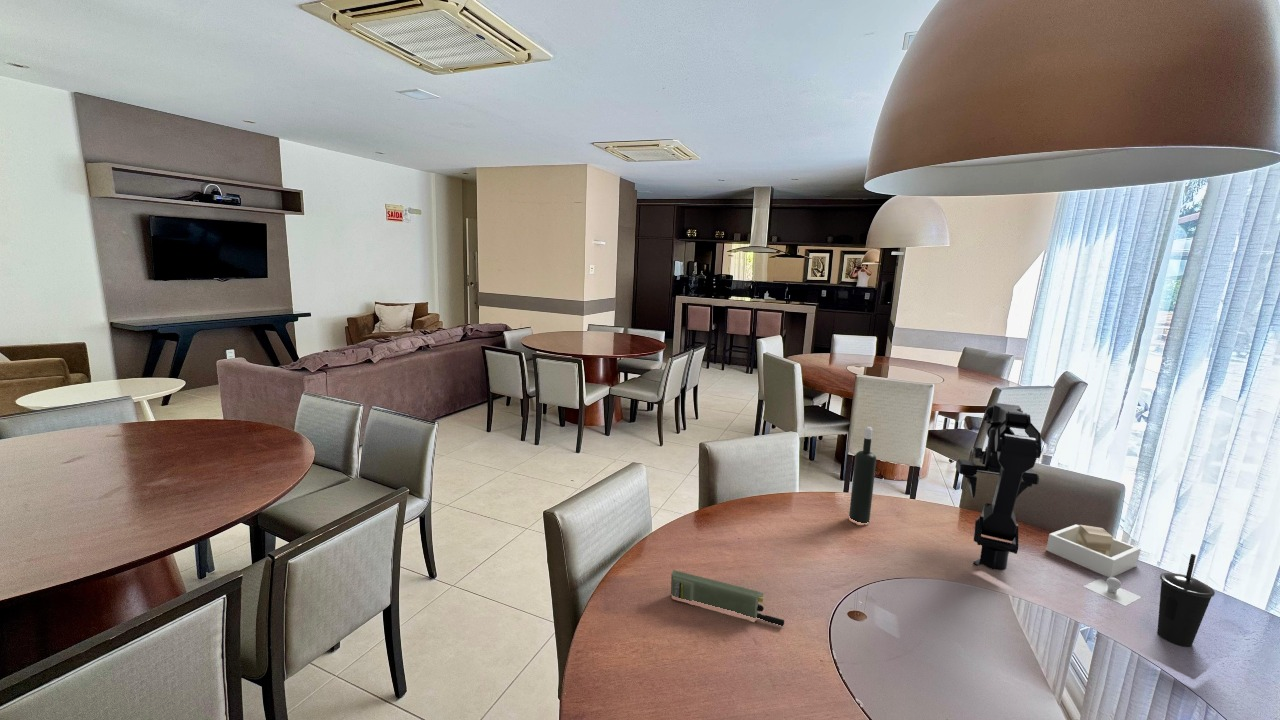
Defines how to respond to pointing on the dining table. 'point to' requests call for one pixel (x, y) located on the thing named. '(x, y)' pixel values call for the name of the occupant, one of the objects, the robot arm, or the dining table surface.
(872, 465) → the wine bottle
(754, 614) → the handheld radio
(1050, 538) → the white bin
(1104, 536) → the wooden post
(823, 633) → the dining table surface
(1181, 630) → the drinking cup
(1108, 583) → the stud plate
